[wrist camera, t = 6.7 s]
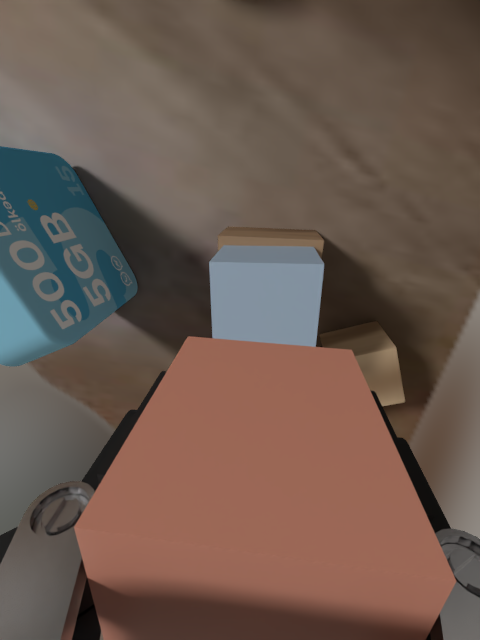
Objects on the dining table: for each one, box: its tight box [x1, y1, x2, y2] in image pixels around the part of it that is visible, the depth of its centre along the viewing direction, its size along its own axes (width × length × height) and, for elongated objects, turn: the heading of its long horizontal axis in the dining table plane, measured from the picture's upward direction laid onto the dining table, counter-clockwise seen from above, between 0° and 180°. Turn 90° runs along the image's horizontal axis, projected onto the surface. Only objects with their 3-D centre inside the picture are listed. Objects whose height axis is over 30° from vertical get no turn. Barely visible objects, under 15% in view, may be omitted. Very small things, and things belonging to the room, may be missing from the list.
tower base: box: [218, 227, 324, 260], centre depth 24 cm, size 7×7×5 cm
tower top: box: [209, 245, 324, 347], centre depth 20 cm, size 6×6×5 cm
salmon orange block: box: [74, 336, 456, 640], centre depth 8 cm, size 5×5×6 cm
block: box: [319, 321, 405, 406], centre depth 26 cm, size 5×5×5 cm
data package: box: [0, 146, 138, 366], centre depth 22 cm, size 12×4×12 cm, turn 24°
